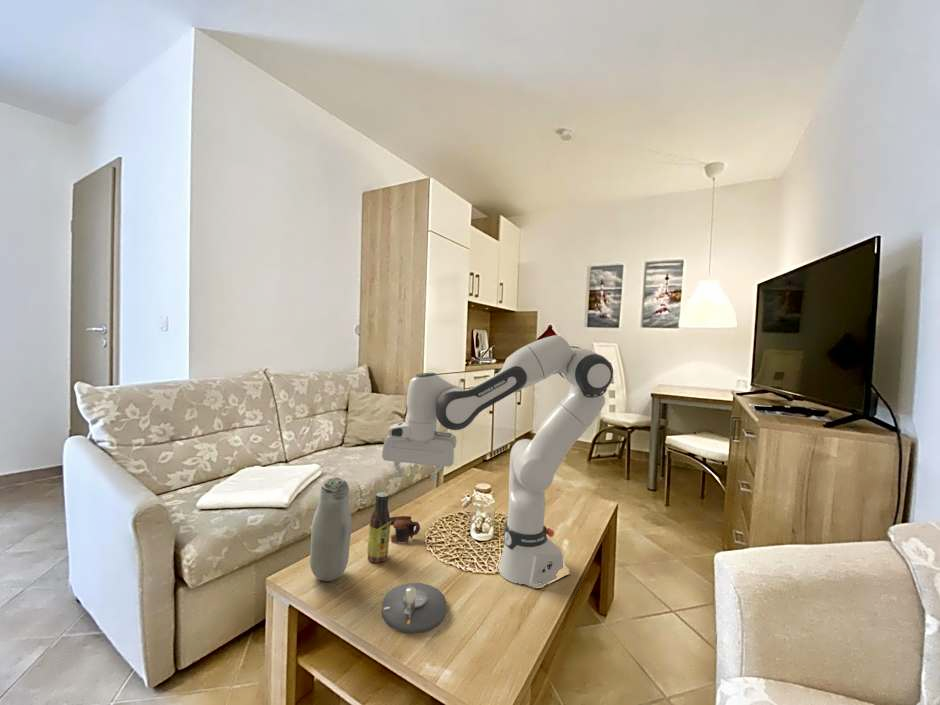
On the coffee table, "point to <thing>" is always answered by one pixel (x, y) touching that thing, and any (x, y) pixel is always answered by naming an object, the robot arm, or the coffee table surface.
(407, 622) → the dial plate
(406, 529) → the pottery mug
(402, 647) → the coffee table surface
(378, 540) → the sauce bottle
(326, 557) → the grey bottle
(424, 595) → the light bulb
